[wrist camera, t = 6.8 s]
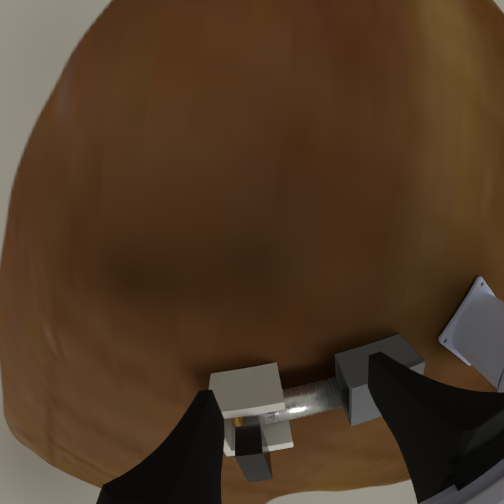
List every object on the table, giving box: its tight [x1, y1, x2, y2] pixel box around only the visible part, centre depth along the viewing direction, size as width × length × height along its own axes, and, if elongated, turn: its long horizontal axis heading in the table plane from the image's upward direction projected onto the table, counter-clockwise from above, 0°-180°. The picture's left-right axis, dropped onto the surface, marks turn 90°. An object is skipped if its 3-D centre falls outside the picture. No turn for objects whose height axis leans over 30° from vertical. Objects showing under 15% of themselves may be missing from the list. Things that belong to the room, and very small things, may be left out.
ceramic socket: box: [209, 362, 294, 456], centre depth 20 cm, size 6×6×5 cm
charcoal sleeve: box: [334, 334, 425, 426], centre depth 20 cm, size 6×5×5 cm
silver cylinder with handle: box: [231, 377, 342, 482], centre depth 18 cm, size 9×4×8 cm, turn 102°
